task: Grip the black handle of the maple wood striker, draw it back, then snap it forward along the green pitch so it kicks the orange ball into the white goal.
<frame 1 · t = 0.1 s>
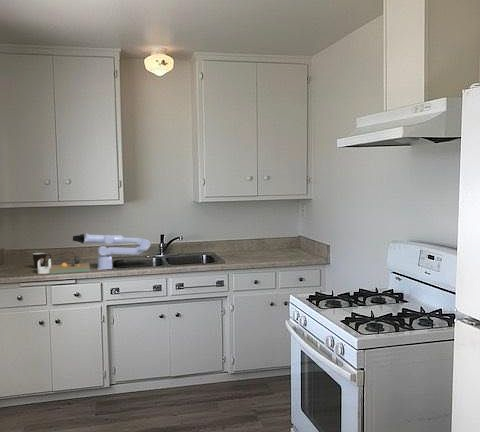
hand: (72, 238, 335), 22 cm above the worktop, tool horizontal, fingers open, 7 cm apart
pitch: (64, 271, 335), on the worktop
striker: (76, 262, 337), point 6 cm above the worktop, slide at 0.0 cm
coffee mug: (42, 268, 349), on the worktop
ball: (64, 265, 334), point 3 cm above the worktop, touching pitch
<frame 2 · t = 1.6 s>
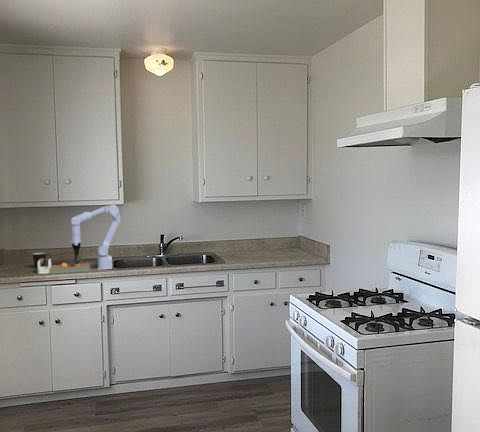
hand: (76, 254, 336), 10 cm above the worktop, tool pointing down, fingers open, 7 cm apart
nothing on the worktop moved.
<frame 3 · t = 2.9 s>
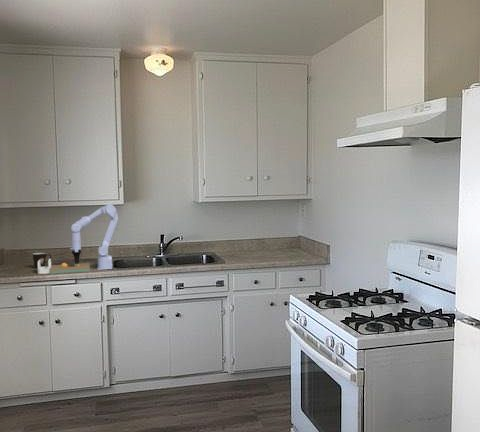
hand: (76, 261, 337), 6 cm above the worktop, tool pointing down, fingers closed on striker, 3 cm apart
striker: (76, 262, 337), point 6 cm above the worktop, slide at 0.0 cm, touching gripper
everything else where it was.
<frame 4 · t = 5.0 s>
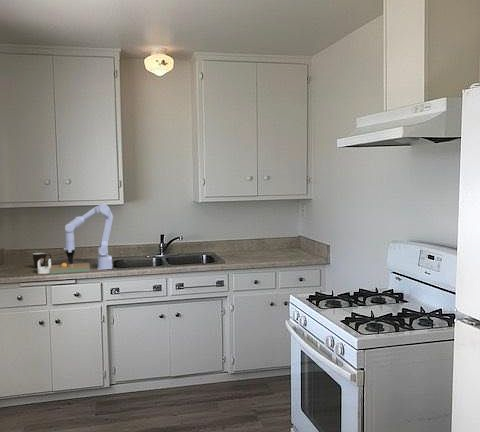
hand: (70, 261, 335), 6 cm above the worktop, tool pointing down, fingers closed on striker, 3 cm apart
striker: (70, 262, 335), point 6 cm above the worktop, slide at 4.0 cm, touching gripper
everything else where it was.
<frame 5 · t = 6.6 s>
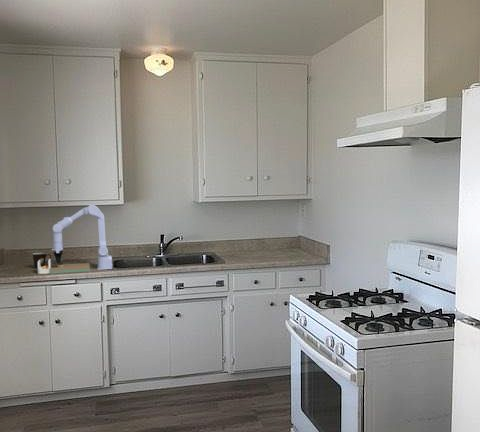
hand: (58, 262, 333), 6 cm above the worktop, tool pointing down, fingers closed on striker, 3 cm apart
striker: (60, 262, 333), point 6 cm above the worktop, slide at 10.4 cm, touching gripper
ball: (45, 268, 331), point 2 cm above the worktop, tilted 9°, touching pitch
everything else where it was.
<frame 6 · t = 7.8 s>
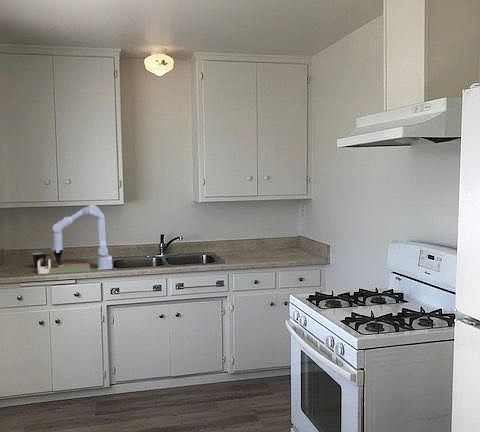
hand: (58, 262, 333), 6 cm above the worktop, tool pointing down, fingers open, 7 cm apart
striker: (60, 262, 333), point 6 cm above the worktop, slide at 10.4 cm
ball: (47, 268, 331), point 2 cm above the worktop, tilted 52°, touching pitch
everything else where it was.
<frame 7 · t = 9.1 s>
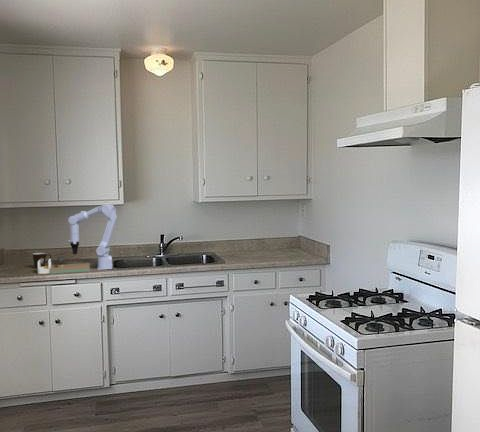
hand: (75, 253, 344), 10 cm above the worktop, tool pointing down, fingers open, 7 cm apart
ball: (46, 268, 331), point 2 cm above the worktop, tilted 39°, touching pitch
everything else where it was.
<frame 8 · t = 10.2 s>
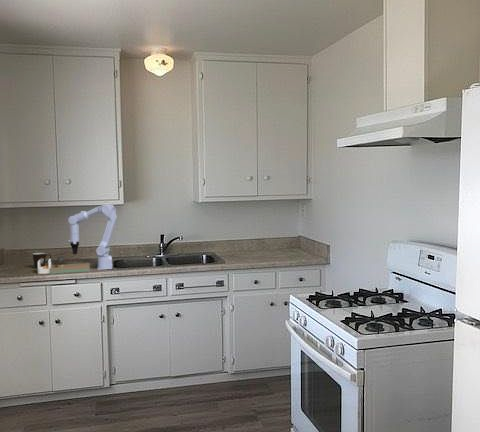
hand: (75, 253, 344), 10 cm above the worktop, tool pointing down, fingers open, 7 cm apart
ball: (46, 268, 331), point 2 cm above the worktop, tilted 29°, touching pitch
everything else where it was.
at the end: ball inside the target area (0.5 cm from its centre), point 2.3 cm above the worktop; striker slide at 10.4 cm; coffee mug moved 0.2 cm from its start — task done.
